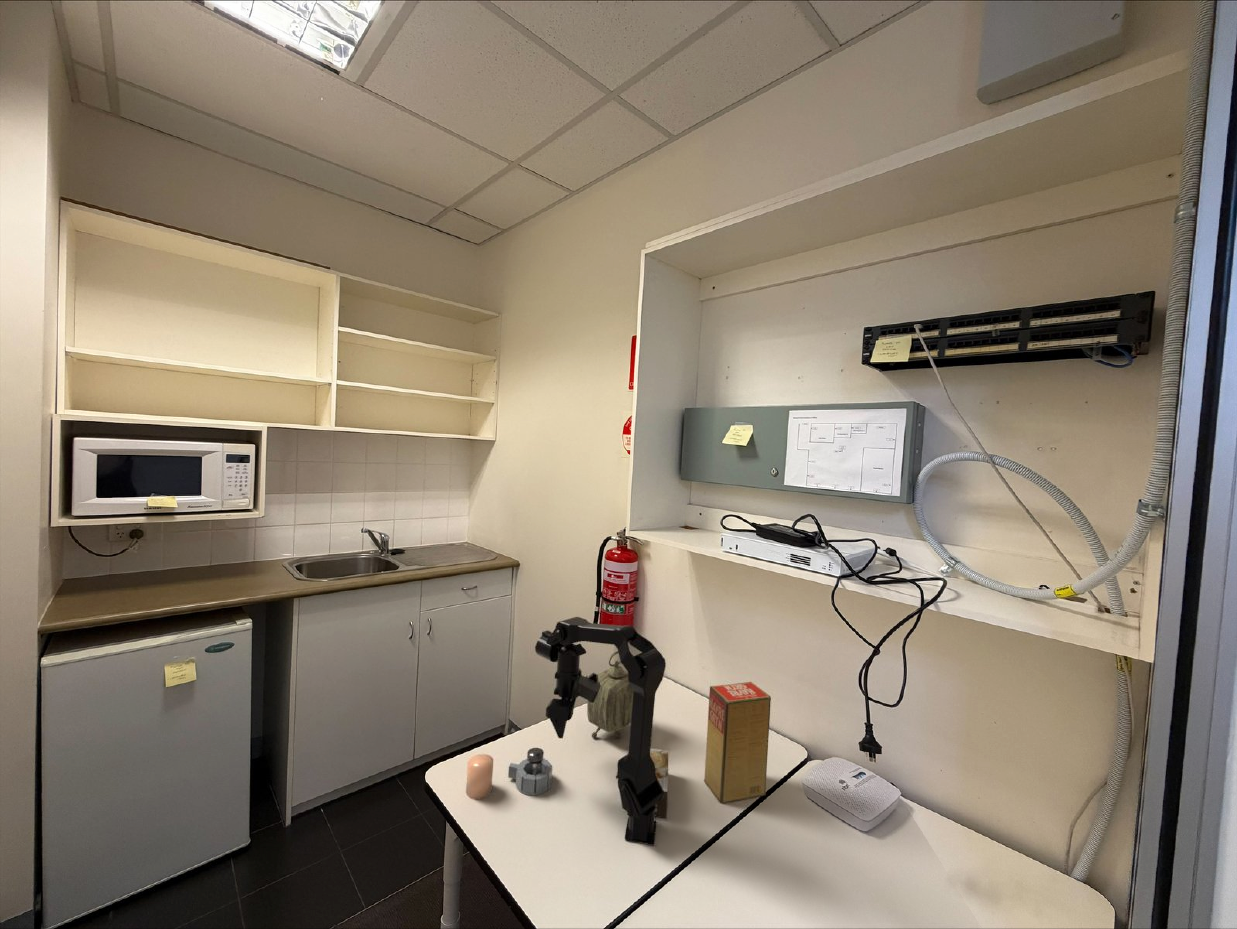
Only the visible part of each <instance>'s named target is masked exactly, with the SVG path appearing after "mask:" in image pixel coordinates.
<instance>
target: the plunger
mask: <svg viewBox="0 0 1237 929" xmlns="http://www.w3.org/2000/svg"><path fill="white" fill-rule="evenodd" d="M544 753H545V752H544V750H543V749H542V748H540V747H532V748H530V749H528V750H527V754H526V756H527V757H526V759H527V761H528V762H529V763H531V764H533V770H532V772H531V773H529V774H530V775H538V774H541V773H538V772H536V771H537V764H538V763H540V762H542V761H543V758H544V755H545V754H544Z"/></svg>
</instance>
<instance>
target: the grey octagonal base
mask: <svg viewBox="0 0 1237 929" xmlns="http://www.w3.org/2000/svg"><path fill="white" fill-rule="evenodd" d="M532 770H533V764H531V763H529V762H528V761H527V758H526V759H523V760H521V761H520V763H514V762H513V763H512V762H510V763H509V766H508V775H507V777H508V778H510V779H515V787H516V789H517V791H518V792H519V793H521V794H523V795H525V796H538V795H541V794H544V793H546V792H547V791H548V790H549V789H550V788H551V786H552V783H553V782H552V780H553V764H551V763H550V761H549V760H548V759H546V758H544V757H543V761H542V762H540V763H538V764H537V771H536V772H538V773H541V774H538V775H530V774H529V773H531V772H532Z"/></svg>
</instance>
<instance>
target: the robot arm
mask: <svg viewBox="0 0 1237 929" xmlns="http://www.w3.org/2000/svg"><path fill="white" fill-rule="evenodd" d="M580 642H587V643H588V642H589V643H595V644H605V645H613V646H615V648H616V649H617V651H618V652H619V653H618V656H619V661H621V663H620V664H622V666H623V667H624V669H625V671H626V672H628V681H629V684H630V686H631V688H632V690H633V703H632V714H631V723H630V727H629V737H628V738H629V739H628V751H627V754H626V755H624V756H622V757H621V758H619V759H618V760H617V765H616V766H617V773H616V776H615V779H616V780H617V788H618V790H619V792H618V793H619V796H620V802H621V808H622V809H623V810H624V811H625V812H626V814H627V816H628V817H627V822H626V827H625V832H624V840H625V841H627V842H634V843H640V844H644V845H650V846H654V845H655V842H656V831H657V821H656V820H655V818H656V816H655V805H656V804H657V803H658V802H659V801H661V800H662V799H663V797H664V794H665V793H664V791H663V789H662V787H661V785H660V783H659V781H658V779H657V777H656V775H655V764H654V762H653V760H652V758H651V756H650V748H651V746H652V738H653V725H654V724H653V722H654V713H655V712H654V710H655V704H656V703H655V701H656V693H657V691H658V688H659V687H660V685H661V684H662V682H663V679H664V675H665V671H666V666H667V665H666V659H665V658H664V656H663V654H662V653H661V652H660V651H659V650H658V648H657V647H656V646H655V645H654V644H653V642H651V641H650V640H649V639H648V638H646V637H644V636H642V635H641V634H639V632H638V631H637V630H636V629H635V627H633V625H630V624H628V625H627V624H626V625H617V624H606V623H605V624H604V623H603V624H602V623H593V622H589V621H588V619H585V618H583V617H580V616H573V617H570V618H567V619H564V620H560V621H557V622H556V624H555V628H554V630H553V631H550V630H548V629H547V630H545V631H542V632H541V636H540V637H539V638H538V640H537V642H536V644H535V646H534V651H535V653H536V655H537V656H539V657H541V658H543V659H545V660H547V661H550V662H552V663H556V671H555V673H554V679H555V683H556V684H555V688H554V690H553V695H555V696H558V697H559V698H552V699H551V700H550V701H549V702H548V703H547V706H546V708H545V717H546V718H547V719H549V720H550V722H551V724H552V726H553V729H554V730H555V734H556V736H557V737H558V739H562V740H563V738H564V735H565V731H566V725H567V721H568V722H569V721H570V720H571V719H572V718H573V716H574V715H573V714H574V711H575V710H574V709H575V705H576V701H577V698H578V697H581V698H582V699H585V700H586V701H589V702H591V703H594V701H595V699H596V697H597V695H598V692H599V690H600V687H601V685H600V682H599V683H598V673H595V672H592V673H590V675H586V676H584V675H583V674H582V672H583V671H582V669H581V668H580V660H581V658H580V657H581V656H583V655H586V653H587V650H586V648H584V647H583V646H582V644H581V643H580ZM576 643H578V644H576ZM629 645H630V646H632V647H633V648H634V649H636V650H638V651H639V652H640V653H637V654H636V655H633V653H632V652H631V651H630V646H629Z"/></svg>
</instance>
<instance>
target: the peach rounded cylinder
mask: <svg viewBox="0 0 1237 929" xmlns="http://www.w3.org/2000/svg"><path fill="white" fill-rule="evenodd" d="M466 772H467V773H466V786H465V794H466V796H467V797H468V798H470V799H472V798H475V799H474V800H479V799H478V798H481V799H484V798H486V797H488V796H489V795H490V794H491V792H492V789H493V777H494V776H493V773H494V758H493V756H491V755H489V754H486V753H481V754H474V755H473V756H472V757H470V758H469V759H468V761H467V770H466ZM489 793H490V794H489ZM488 794H489V795H488ZM487 795H488V796H487ZM485 796H486V797H485Z"/></svg>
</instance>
